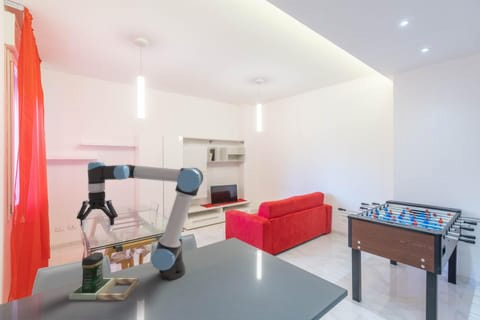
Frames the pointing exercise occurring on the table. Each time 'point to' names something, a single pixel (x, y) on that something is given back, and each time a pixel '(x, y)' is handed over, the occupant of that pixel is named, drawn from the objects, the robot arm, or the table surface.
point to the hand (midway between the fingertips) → (97, 231)
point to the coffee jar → (92, 273)
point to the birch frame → (104, 296)
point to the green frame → (88, 296)
